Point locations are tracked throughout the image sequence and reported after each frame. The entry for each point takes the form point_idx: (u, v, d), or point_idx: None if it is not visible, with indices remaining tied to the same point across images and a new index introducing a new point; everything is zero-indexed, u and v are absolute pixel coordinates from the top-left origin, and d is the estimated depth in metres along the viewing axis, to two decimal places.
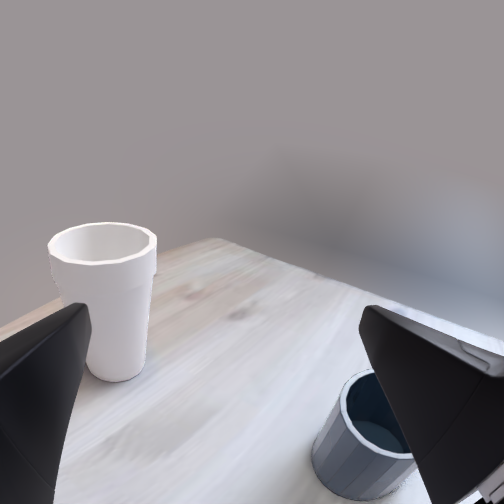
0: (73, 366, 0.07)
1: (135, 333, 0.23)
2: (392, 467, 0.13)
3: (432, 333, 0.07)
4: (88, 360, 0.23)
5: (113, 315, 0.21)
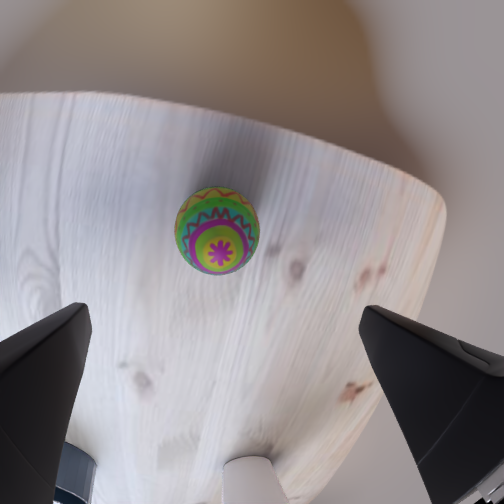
0: (73, 366, 0.07)
1: None
2: None
3: (432, 333, 0.07)
4: (252, 470, 0.28)
5: None
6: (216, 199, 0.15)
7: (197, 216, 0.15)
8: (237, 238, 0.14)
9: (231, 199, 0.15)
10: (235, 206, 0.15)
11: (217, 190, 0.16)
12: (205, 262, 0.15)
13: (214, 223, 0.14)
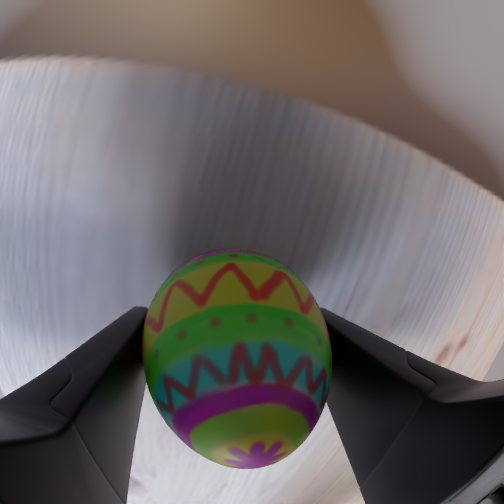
0: (141, 373, 0.07)
1: None
2: None
3: (376, 342, 0.07)
4: None
5: None
6: (239, 311, 0.06)
7: (189, 365, 0.05)
8: (299, 424, 0.05)
9: (278, 307, 0.06)
10: (290, 331, 0.06)
11: (238, 273, 0.06)
12: (219, 463, 0.05)
13: (239, 398, 0.05)
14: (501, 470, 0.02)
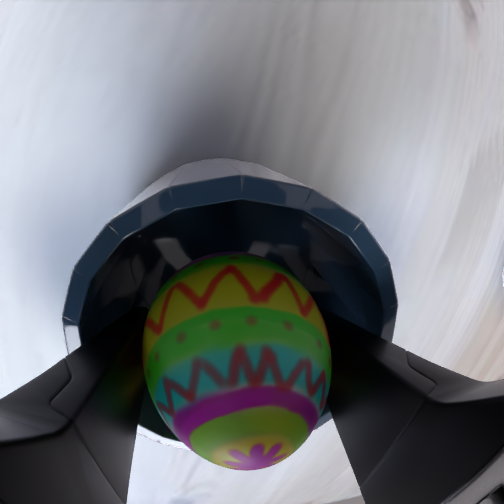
0: (141, 373, 0.07)
1: None
2: (227, 171, 0.07)
3: (376, 342, 0.07)
4: None
5: None
6: (239, 314, 0.06)
7: (189, 368, 0.05)
8: (299, 426, 0.05)
9: (277, 310, 0.06)
10: (290, 333, 0.06)
11: (238, 275, 0.06)
12: (219, 464, 0.05)
13: (239, 400, 0.05)
14: (501, 470, 0.02)
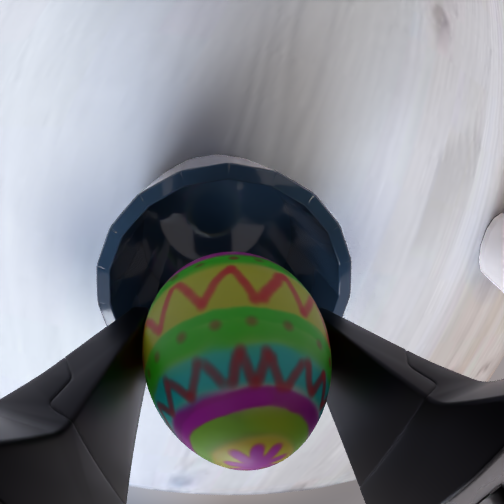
0: (141, 373, 0.07)
1: None
2: (220, 161, 0.09)
3: (376, 342, 0.07)
4: None
5: None
6: (239, 315, 0.06)
7: (189, 368, 0.05)
8: (299, 427, 0.05)
9: (278, 310, 0.06)
10: (290, 333, 0.06)
11: (238, 276, 0.06)
12: (219, 465, 0.05)
13: (239, 400, 0.05)
14: (501, 470, 0.02)
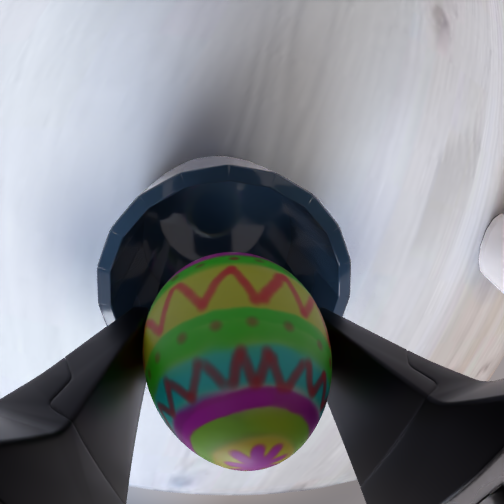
0: (140, 373, 0.07)
1: None
2: (220, 163, 0.09)
3: (377, 342, 0.07)
4: None
5: None
6: (239, 315, 0.06)
7: (190, 369, 0.05)
8: (299, 427, 0.05)
9: (278, 310, 0.06)
10: (291, 334, 0.06)
11: (238, 276, 0.06)
12: (219, 465, 0.05)
13: (239, 401, 0.05)
14: (502, 469, 0.02)
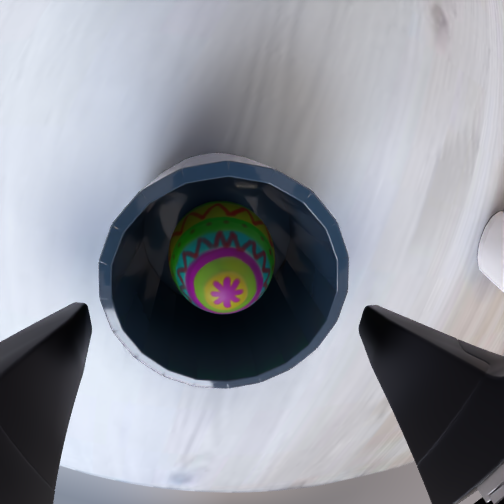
0: (73, 366, 0.07)
1: None
2: (220, 159, 0.10)
3: (432, 333, 0.07)
4: None
5: None
6: (220, 219, 0.12)
7: (196, 243, 0.11)
8: (249, 273, 0.11)
9: (239, 219, 0.12)
10: (245, 229, 0.12)
11: (221, 206, 0.13)
12: (208, 303, 0.11)
13: (218, 254, 0.11)
14: None
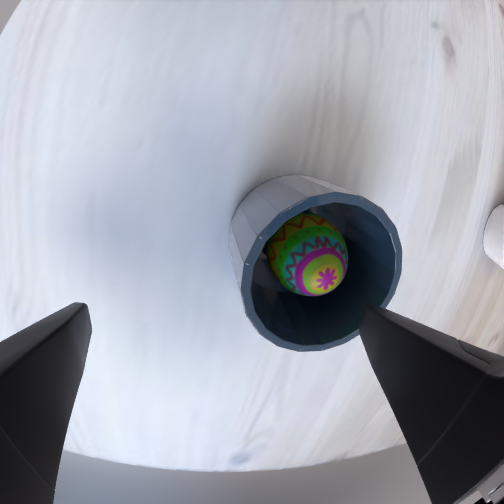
0: (73, 366, 0.07)
1: None
2: (323, 189, 0.14)
3: (432, 333, 0.07)
4: None
5: None
6: (314, 228, 0.16)
7: (301, 246, 0.16)
8: (339, 264, 0.16)
9: (326, 227, 0.17)
10: (332, 234, 0.16)
11: (309, 218, 0.17)
12: (312, 288, 0.16)
13: (320, 252, 0.15)
14: None
